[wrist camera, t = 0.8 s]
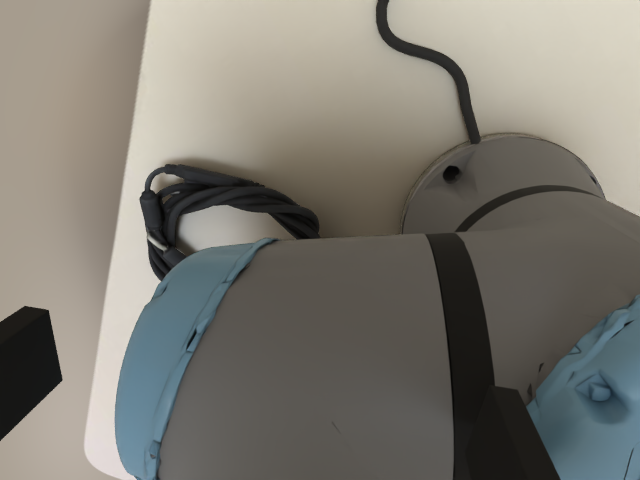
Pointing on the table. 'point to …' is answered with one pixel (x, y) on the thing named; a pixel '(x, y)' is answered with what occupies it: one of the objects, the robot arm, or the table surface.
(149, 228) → the cable
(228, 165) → the table surface
